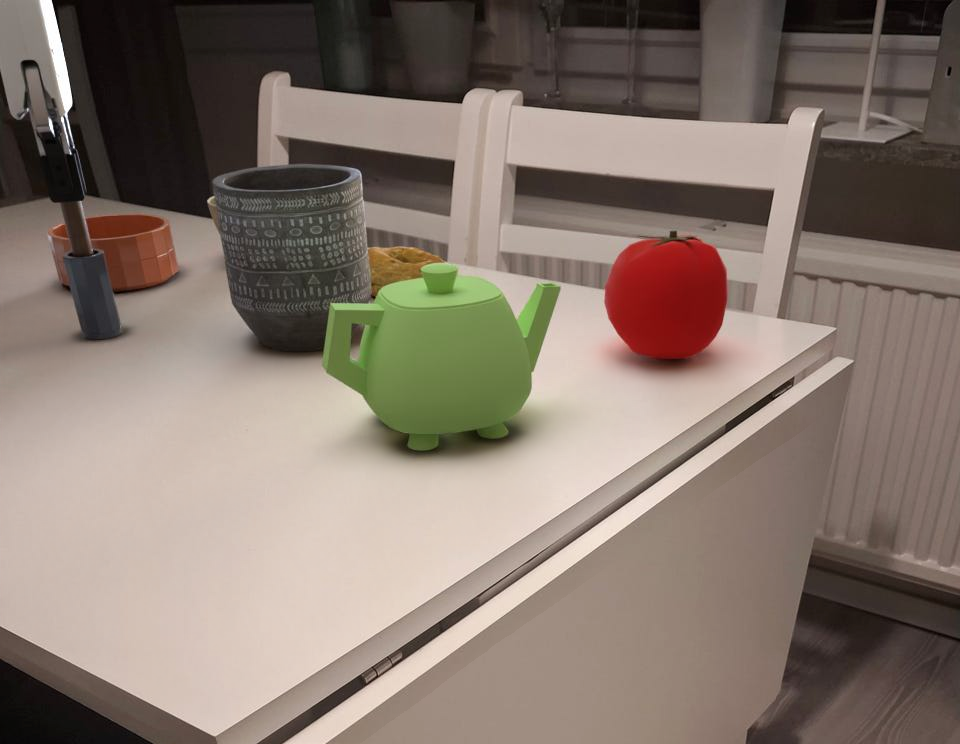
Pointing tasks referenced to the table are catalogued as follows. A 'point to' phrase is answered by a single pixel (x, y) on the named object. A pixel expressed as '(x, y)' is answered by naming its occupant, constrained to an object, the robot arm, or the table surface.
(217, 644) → the table surface
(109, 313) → the tube
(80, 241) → the stick
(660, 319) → the tomato
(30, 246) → the table surface
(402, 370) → the teapot
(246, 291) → the planter
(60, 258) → the bowl
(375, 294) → the bagel
